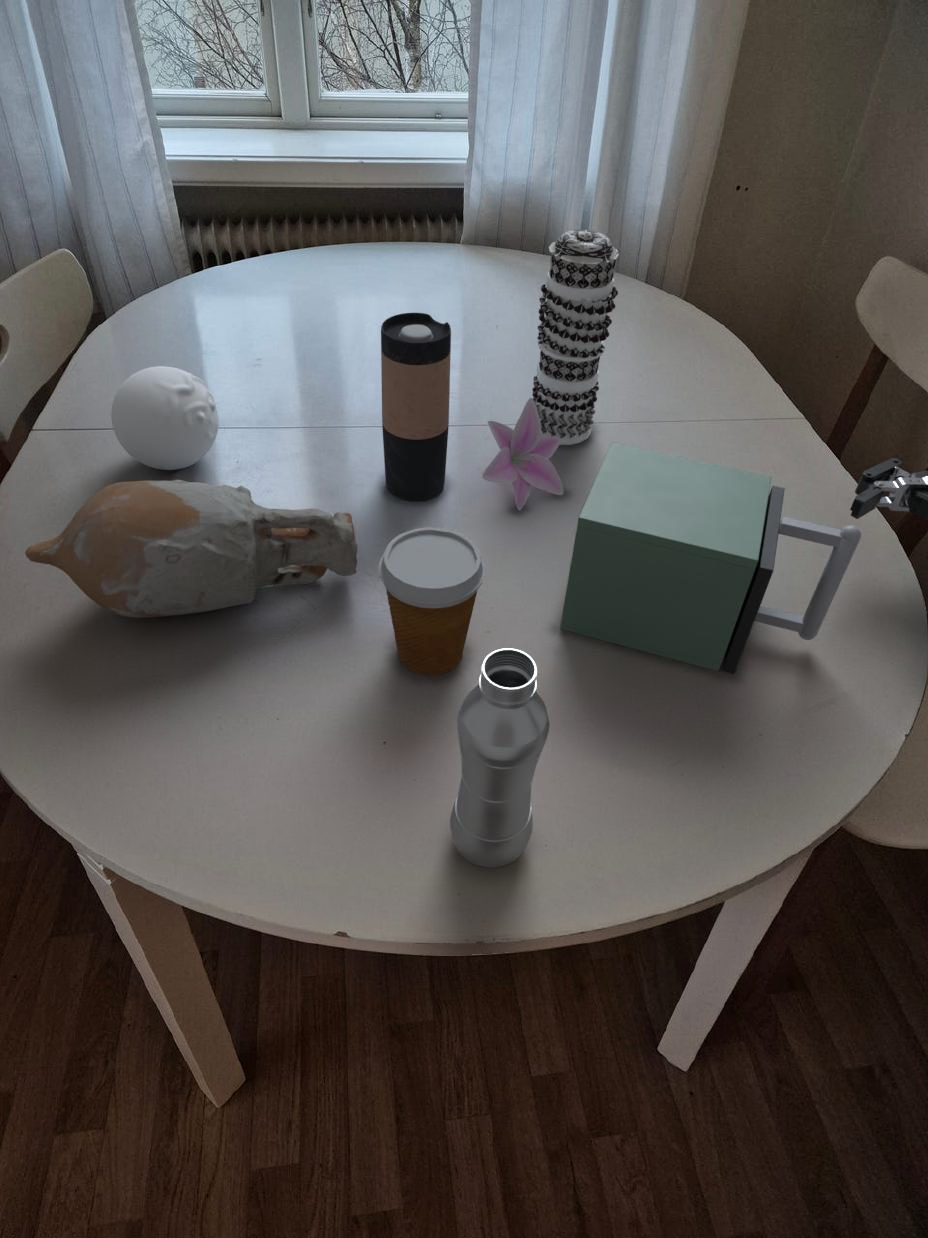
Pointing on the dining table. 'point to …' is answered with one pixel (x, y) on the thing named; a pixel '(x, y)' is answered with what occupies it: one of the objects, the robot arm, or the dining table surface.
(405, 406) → the travel mug
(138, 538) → the amphora
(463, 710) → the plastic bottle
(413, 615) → the disposable coffee cup
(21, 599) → the dining table surface
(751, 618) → the black drawer with handle
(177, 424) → the decorative ball
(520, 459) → the lily
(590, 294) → the black and white cylinder
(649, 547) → the green drawer cabinet
